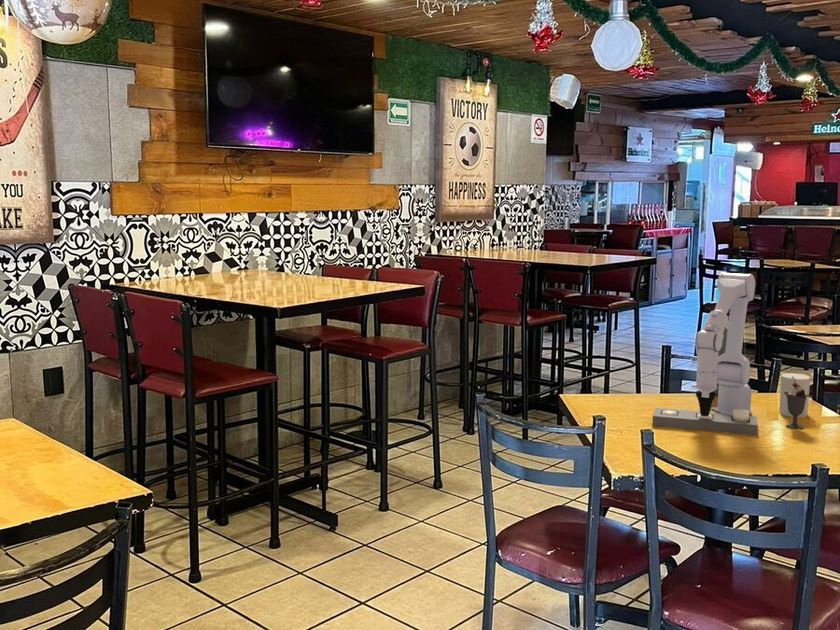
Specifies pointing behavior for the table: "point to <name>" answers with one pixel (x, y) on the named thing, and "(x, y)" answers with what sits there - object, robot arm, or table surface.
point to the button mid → (704, 416)
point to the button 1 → (669, 413)
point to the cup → (785, 386)
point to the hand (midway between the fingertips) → (704, 415)
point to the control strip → (704, 422)
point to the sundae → (795, 403)
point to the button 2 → (741, 415)
